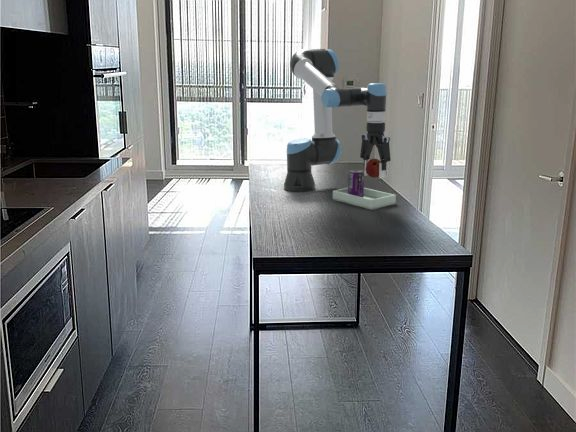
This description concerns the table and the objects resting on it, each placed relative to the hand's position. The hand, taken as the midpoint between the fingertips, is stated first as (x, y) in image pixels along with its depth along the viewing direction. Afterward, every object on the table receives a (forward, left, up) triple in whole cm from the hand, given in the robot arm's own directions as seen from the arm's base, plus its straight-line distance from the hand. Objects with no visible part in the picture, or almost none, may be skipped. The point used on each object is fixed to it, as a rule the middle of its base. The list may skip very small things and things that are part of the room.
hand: (374, 176), depth 236 cm
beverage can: (-11, +1, -11) cm, 16 cm away
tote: (-6, 0, -12) cm, 14 cm away
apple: (0, 0, -1) cm, 1 cm away
